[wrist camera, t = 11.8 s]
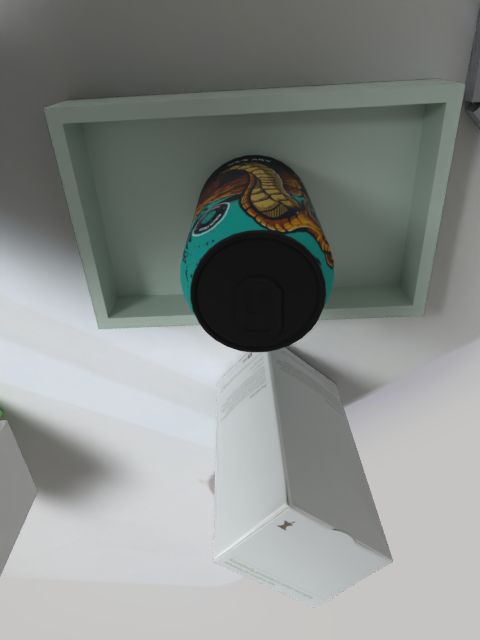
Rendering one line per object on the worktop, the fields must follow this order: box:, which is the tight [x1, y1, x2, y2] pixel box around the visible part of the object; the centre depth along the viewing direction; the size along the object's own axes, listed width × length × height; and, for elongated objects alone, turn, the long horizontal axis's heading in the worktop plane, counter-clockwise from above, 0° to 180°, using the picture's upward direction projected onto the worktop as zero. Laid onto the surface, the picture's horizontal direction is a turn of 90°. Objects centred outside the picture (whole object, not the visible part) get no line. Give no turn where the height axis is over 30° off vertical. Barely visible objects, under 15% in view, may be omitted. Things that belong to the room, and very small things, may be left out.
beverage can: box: [180, 155, 334, 352], centre depth 24 cm, size 7×7×12 cm
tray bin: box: [43, 79, 466, 329], centre depth 29 cm, size 22×14×4 cm, turn 93°
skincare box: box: [213, 347, 393, 608], centre depth 31 cm, size 8×7×16 cm
